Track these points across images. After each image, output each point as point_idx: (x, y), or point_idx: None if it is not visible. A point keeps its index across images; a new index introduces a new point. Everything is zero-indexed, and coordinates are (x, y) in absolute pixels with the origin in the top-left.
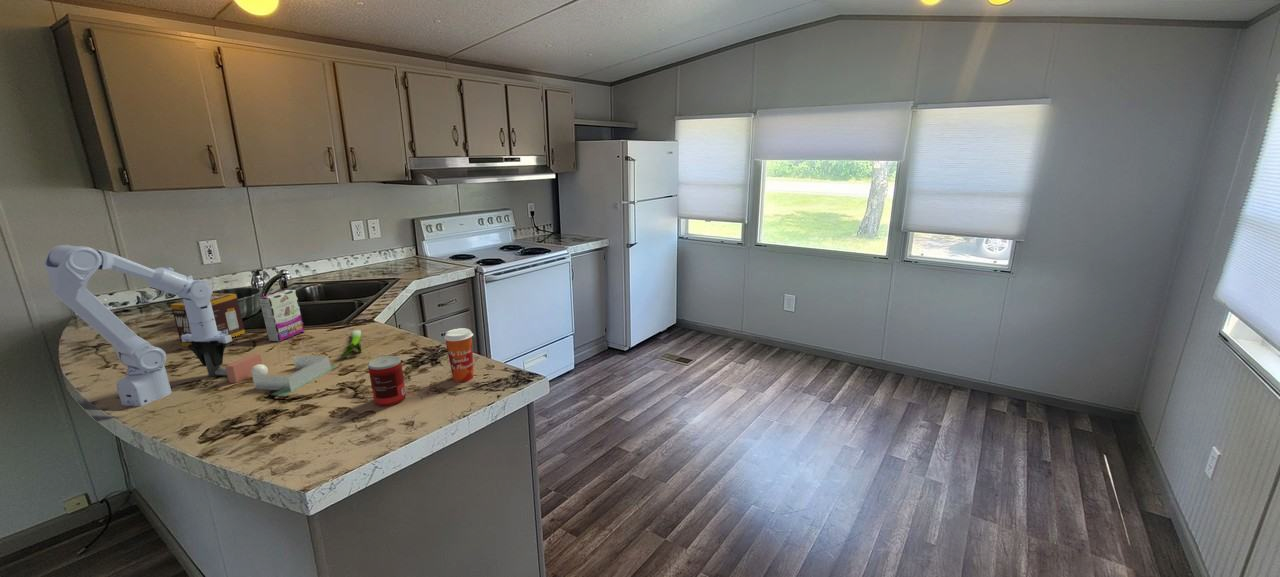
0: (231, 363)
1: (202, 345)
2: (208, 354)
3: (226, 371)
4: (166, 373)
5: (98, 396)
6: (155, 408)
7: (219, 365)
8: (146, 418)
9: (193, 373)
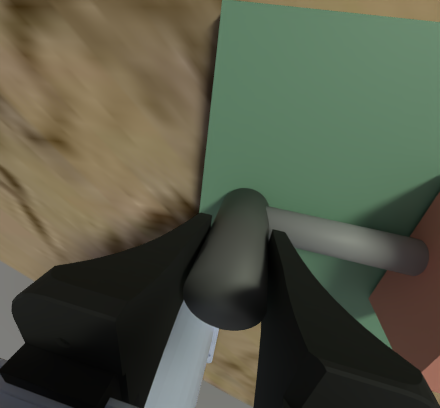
0: (432, 361)
1: (146, 354)
2: (240, 327)
3: (326, 254)
4: (181, 391)
5: (16, 263)
6: (224, 354)
7: (268, 229)
8: (247, 387)
9: (92, 125)
